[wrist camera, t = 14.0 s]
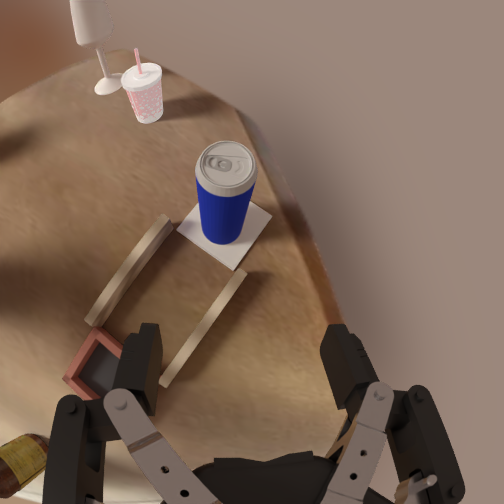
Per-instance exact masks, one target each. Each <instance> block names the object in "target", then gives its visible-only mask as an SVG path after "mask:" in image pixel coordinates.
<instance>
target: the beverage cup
mask: <svg viewBox="0 0 504 504" xmlns="http://www.w3.org/2000/svg"><path fill="white" fill-rule="evenodd" d="M134 51H135V56H136V61H137V65H136V66H133V67H132V68H130V69H128V70H127V71H126V72H125V73H124V74H123V75H122V78H121V83H122V85H123V88H124V89H126V92H127V94H128V97H129V99H130V102H131V104H132V107H133V110H134V112H135V115H136V117H137V119H138V121H140V122H141V123H152V122H155V121H157V120H158V119H159V118H160V117H161V116H162V114H163V102H162V89H161V76H162V69H161V67H160V66H159V65H157V64H155V63H142V64H140V59H139V53H138V48H134Z"/></svg>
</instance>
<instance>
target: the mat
mask: <svg viewBox="0 0 504 504" xmlns="http://www.w3.org/2000/svg"><path fill="white" fill-rule="evenodd" d="M271 218H272V215H270V214H269V213H267V212H266V211H264V210H263V209H261V208H260V207H258V206H257V205H255V204H254V203H252V202H251V201H250V203H249V206H248V210H247V213H246V217H245V220H244V224H243V227H242V231H241V234H240V235H239V237H238V238H237V239H236V240H235V241H233V242H232V243H229V244H226V245H218V244H214V243H212V242H211V241H209V240H208V239H207V238H206V237H205V236H204V234H203V231H202V227H201V219H200V210H199V203H198V204H197V205H196V206H195V207H194V209H193V210H192V211H191V212H190V213H189V215H188V216H187V217H186V218H185V219H184V221H183V222H182V223H181V224H180V226H179V227H178V228H177V229H176V230H177V231H178V232H179V233H180V234H182V235H183V236H185V237H186V238H187V239H189V240H190V241H192V242H193V243H194V244H196V245H197V246H198V247H200V248H201V249H203V250H204V251H205V252H207V253H208V254H210V255H211V256H213V257H214V258H215V259H217V260H218V261H220V262H221V263H222V264H224V265H225V266H227V267H228V268H229V269H231V270H232V271H234V269H235V268H236V266H237V265H238V264H239V262H240V261H241V259H242V258H243V257H244V255H245V254H246V253H247V251H248V250H249V248H250V247H251V246H252V244H253V243H254V241H255V240H256V239H257V237H258V236H259V234H260V233H261V232H262V230H263V229H264V228H265V226H266V225H267V223H268V222H269V221H270V219H271Z"/></svg>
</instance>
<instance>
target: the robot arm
mask: <svg viewBox="0 0 504 504" xmlns="http://www.w3.org/2000/svg"><path fill="white" fill-rule="evenodd" d="M162 356H163V347H162V341H161V335H160V329H159V325H158V324H153V323H142V324H141V327H140V331H139V334H136V333H131V334H130V335H129V336H128V338H127V339H126V340H125V341H124V345H123V348H122V352H121V356H120V360H119V363H118V367H117V371H116V375H115V379H114V383H113V386H112V389H111V390H110V392H109V393H107V395H106V396H104V397H102V398H99V399H92V400H84V401H83V400H82V399H81V398H80V397H79V396H76V395H66V396H64V397H62V398H61V399H60V400H59V402H58V404H57V408H56V412H55V416H54V421H53V426H52V431H51V436H50V441H49V447H48V453H47V460H46V468H45V476H44V486H43V500H42V504H104V503H103V480H104V462H105V449H106V441H114V440H121V439H122V440H123V441H124V443H125V445H126V446H127V448H128V451H129V452H130V454H131V456H132V457H133V459H134V460H135V462H136V463H137V465H138V466H139V468H140V469H141V470H142V472H143V473H144V475H145V476H146V477H147V479H148V480H149V481H150V483H151V484H152V485H153V487H154V488H155V489H156V490H157V492H158V493H159V494H160V495H161V497H162V498H163V499H164V500H163V501H162V502H161V503H160V504H458V503H459V502H460V501H461V500H462V499H463V497H464V494H465V485H464V481H463V478H462V475H461V472H460V469H459V466H458V463H457V460H456V457H455V454H454V451H453V449H452V446H451V443H450V440H449V438H448V435H447V432H446V430H445V427H444V425H443V422H442V420H441V417H440V415H439V413H438V410H437V408H436V405H435V403H434V401H433V399H432V396H431V394H430V392H429V391H428V389H426V388H425V387H424V386H421V385H414V386H412V387H411V388H410V389H409V390H408V391H398V390H392V388H391V387H390V386H389V385H387V384H386V383H383V382H380V381H379V379H378V377H377V375H376V372H375V370H374V368H373V366H372V364H371V362H370V359H369V357H367V353H366V351H365V350H364V347H363V344H362V343H361V340H360V339H359V338H358V337H357V336H356V335H355V334H350V333H349V331H348V329H347V327H346V325H345V324H332V325H329V326H328V328H327V330H326V333H325V335H324V338H323V340H322V343H321V346H320V356H321V359H322V362H323V365H324V368H325V371H326V374H327V377H328V380H329V383H330V386H331V389H332V393H333V396H334V399H335V402H336V405H337V408H338V410H340V409H345V408H346V411H347V416H346V418H345V420H344V422H343V425H342V427H341V429H340V431H339V433H338V435H337V438H336V440H335V442H334V444H333V445H332V447H331V448H330V450H329V451H328V453H327V454H326V456H325V457H320V456H313V452H312V451H306V452H300V453H292V454H287V455H285V456H282V457H279V458H276V459H273V460H270V461H266V462H262V461H255V460H249V459H243V458H214V462H213V463H209V464H205V465H203V466H200V467H198V468H196V469H195V470H193V471H191V470H190V469H189V468H188V467H187V466H186V464H185V463H184V462H183V461H182V460H181V458H180V457H179V456H178V455H177V453H176V452H175V451H174V450H173V448H172V447H171V446H170V445H169V443H168V442H167V441H166V439H165V438H164V437H163V436H162V435H161V434H160V433H159V432H158V431H157V429H156V428H155V426H154V425H153V424H152V422H151V421H150V419H149V418H148V416H155V409H156V400H157V392H158V384H159V377H160V370H161V363H162ZM384 430H385V432H384ZM386 438H387V439H388V443H389V446H390V449H391V453H392V456H393V460H394V463H395V467H396V471H397V474H398V478H399V482H400V484H399V485H398V487H397V489H396V493H395V494H394V497H395V499H396V500H395V503H393V502H391V501H390V500H388V499H386V498H385V497H384V496H382V495H380V494H379V493H377V492H376V491H374V490H373V489H371V488H370V487H368V486H369V484H370V481H371V479H372V476H373V474H374V472H375V469H376V466H377V464H378V461H379V458H380V456H381V453H382V450H383V447H384V444H385V441H386Z"/></svg>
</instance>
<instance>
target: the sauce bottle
mask: <svg viewBox="0 0 504 504" xmlns="http://www.w3.org/2000/svg"><path fill="white" fill-rule="evenodd" d="M47 453H48V447H47V446H46V444H45V443H44V442H43V441H42V440H41V439H40V438H39V437H37V436H35V435H33V434H25V435H21V436H19V437H18V438H16V439H14V440H12V441H10V442H8V443H6V444H4V445H3V446H1V447H0V498H9V497H11V496H12V495H13V494H15V493H16V492H17V491H20V490H21V489H22V488H24V487H25V486H26V485H27V484H29V483H30V482H31V481H32V480H33V479H35V478H36V477H37V476H38V475H39V474H41V473H42V472H43V471H44V470H45V468H46V460H47Z"/></svg>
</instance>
